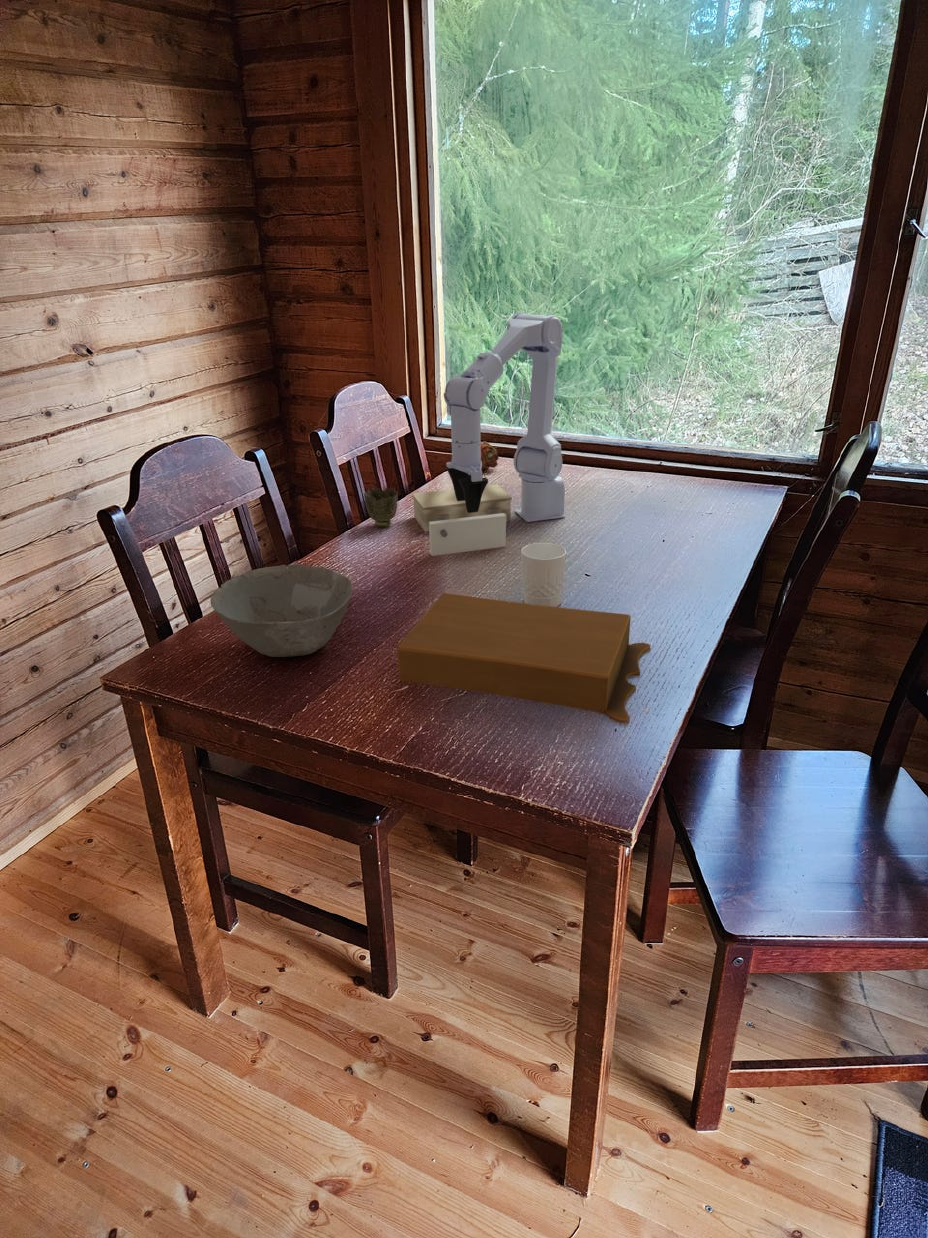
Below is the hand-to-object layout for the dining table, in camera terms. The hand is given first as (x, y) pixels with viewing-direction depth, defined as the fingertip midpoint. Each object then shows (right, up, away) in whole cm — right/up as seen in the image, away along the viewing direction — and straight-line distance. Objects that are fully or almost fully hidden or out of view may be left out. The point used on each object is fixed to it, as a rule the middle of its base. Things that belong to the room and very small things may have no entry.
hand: (467, 506), depth 170 cm
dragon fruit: (+3, +17, +55) cm, 58 cm away
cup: (-19, -2, +18) cm, 26 cm away
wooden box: (+9, -31, -39) cm, 51 cm away
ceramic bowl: (-29, -28, -32) cm, 51 cm away
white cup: (+13, -20, -19) cm, 31 cm away
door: (0, -9, +4) cm, 10 cm away
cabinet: (0, -1, +19) cm, 19 cm away
